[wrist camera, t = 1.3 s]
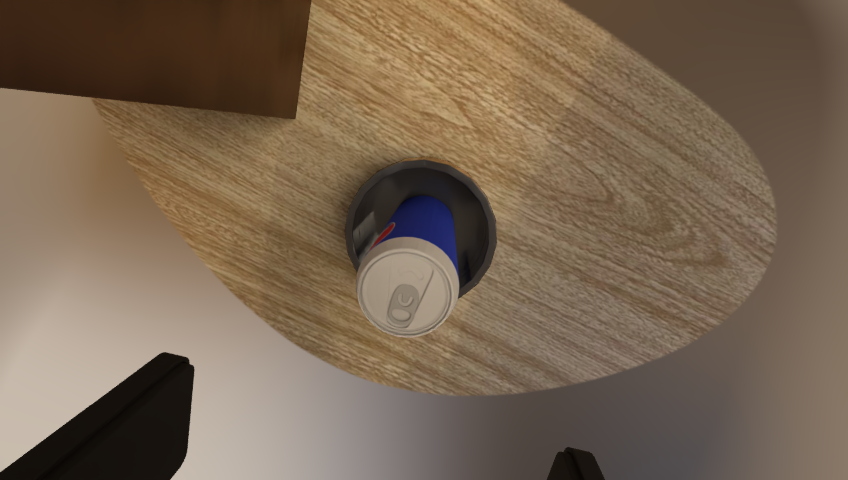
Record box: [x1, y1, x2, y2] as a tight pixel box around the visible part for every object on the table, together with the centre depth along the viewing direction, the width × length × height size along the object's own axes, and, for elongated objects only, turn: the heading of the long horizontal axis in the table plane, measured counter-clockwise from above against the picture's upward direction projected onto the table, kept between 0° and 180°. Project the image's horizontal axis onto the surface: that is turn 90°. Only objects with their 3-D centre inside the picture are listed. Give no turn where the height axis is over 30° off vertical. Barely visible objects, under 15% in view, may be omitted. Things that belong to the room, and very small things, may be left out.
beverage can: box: [356, 196, 459, 338], centre depth 26 cm, size 5×5×15 cm
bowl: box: [345, 156, 497, 298], centre depth 31 cm, size 11×11×4 cm
